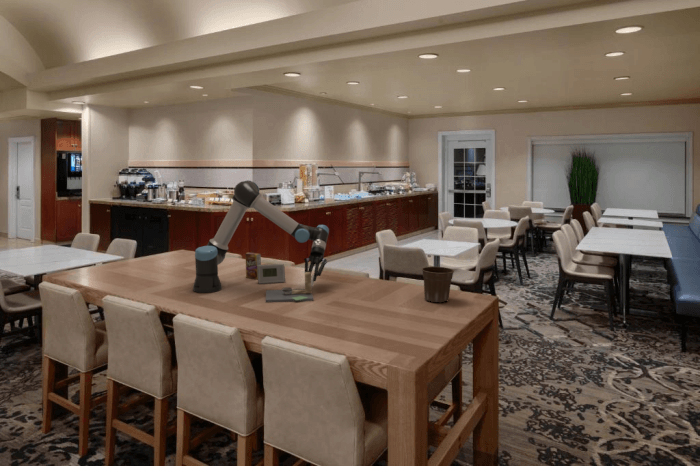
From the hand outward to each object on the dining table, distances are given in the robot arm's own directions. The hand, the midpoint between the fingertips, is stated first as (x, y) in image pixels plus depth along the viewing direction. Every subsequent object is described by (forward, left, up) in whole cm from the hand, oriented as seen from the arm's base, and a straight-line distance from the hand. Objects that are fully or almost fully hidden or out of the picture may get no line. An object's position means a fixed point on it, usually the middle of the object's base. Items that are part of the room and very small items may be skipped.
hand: (309, 285), depth 263 cm
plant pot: (+64, -20, -5) cm, 67 cm away
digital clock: (-20, +29, -5) cm, 36 cm away
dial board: (-11, -5, -4) cm, 13 cm away
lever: (-7, -3, -3) cm, 8 cm away
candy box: (-31, +43, -5) cm, 53 cm away
